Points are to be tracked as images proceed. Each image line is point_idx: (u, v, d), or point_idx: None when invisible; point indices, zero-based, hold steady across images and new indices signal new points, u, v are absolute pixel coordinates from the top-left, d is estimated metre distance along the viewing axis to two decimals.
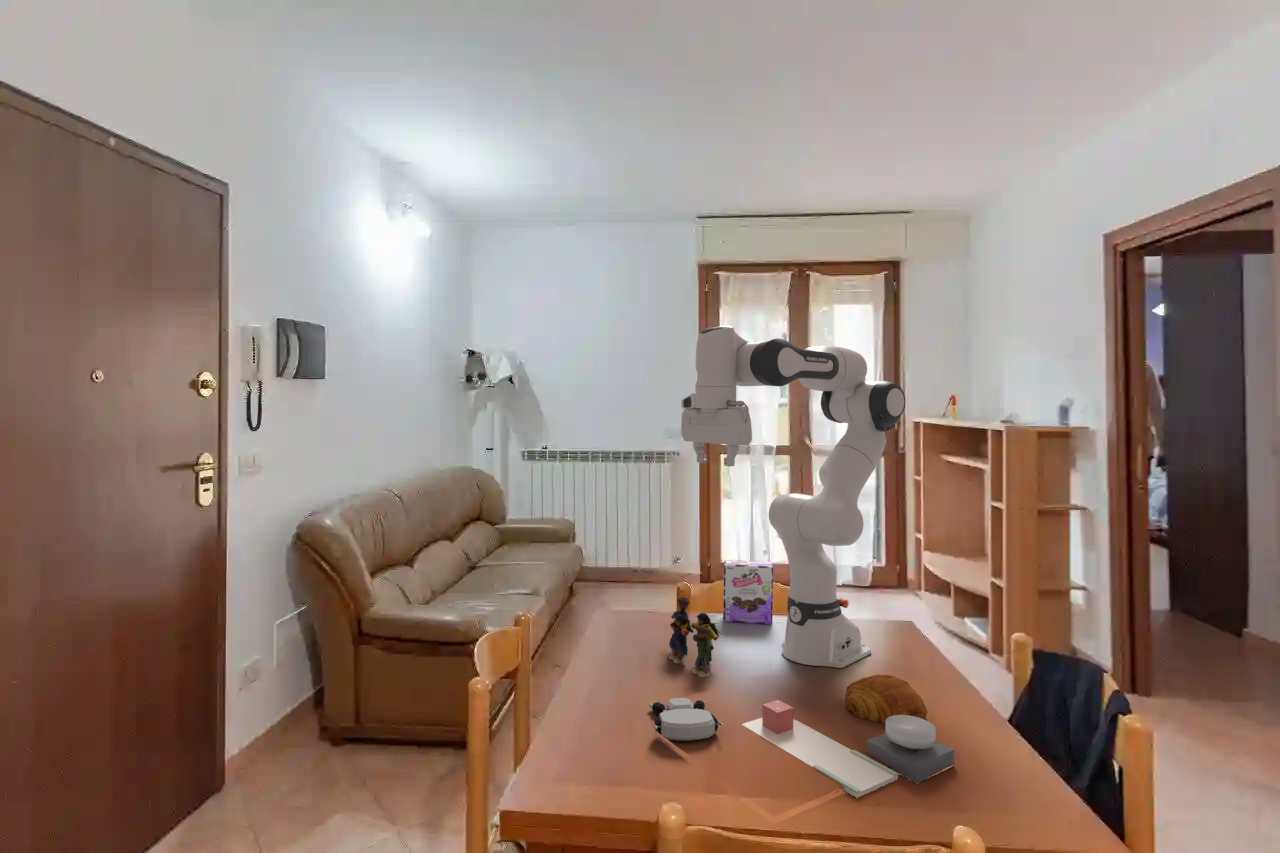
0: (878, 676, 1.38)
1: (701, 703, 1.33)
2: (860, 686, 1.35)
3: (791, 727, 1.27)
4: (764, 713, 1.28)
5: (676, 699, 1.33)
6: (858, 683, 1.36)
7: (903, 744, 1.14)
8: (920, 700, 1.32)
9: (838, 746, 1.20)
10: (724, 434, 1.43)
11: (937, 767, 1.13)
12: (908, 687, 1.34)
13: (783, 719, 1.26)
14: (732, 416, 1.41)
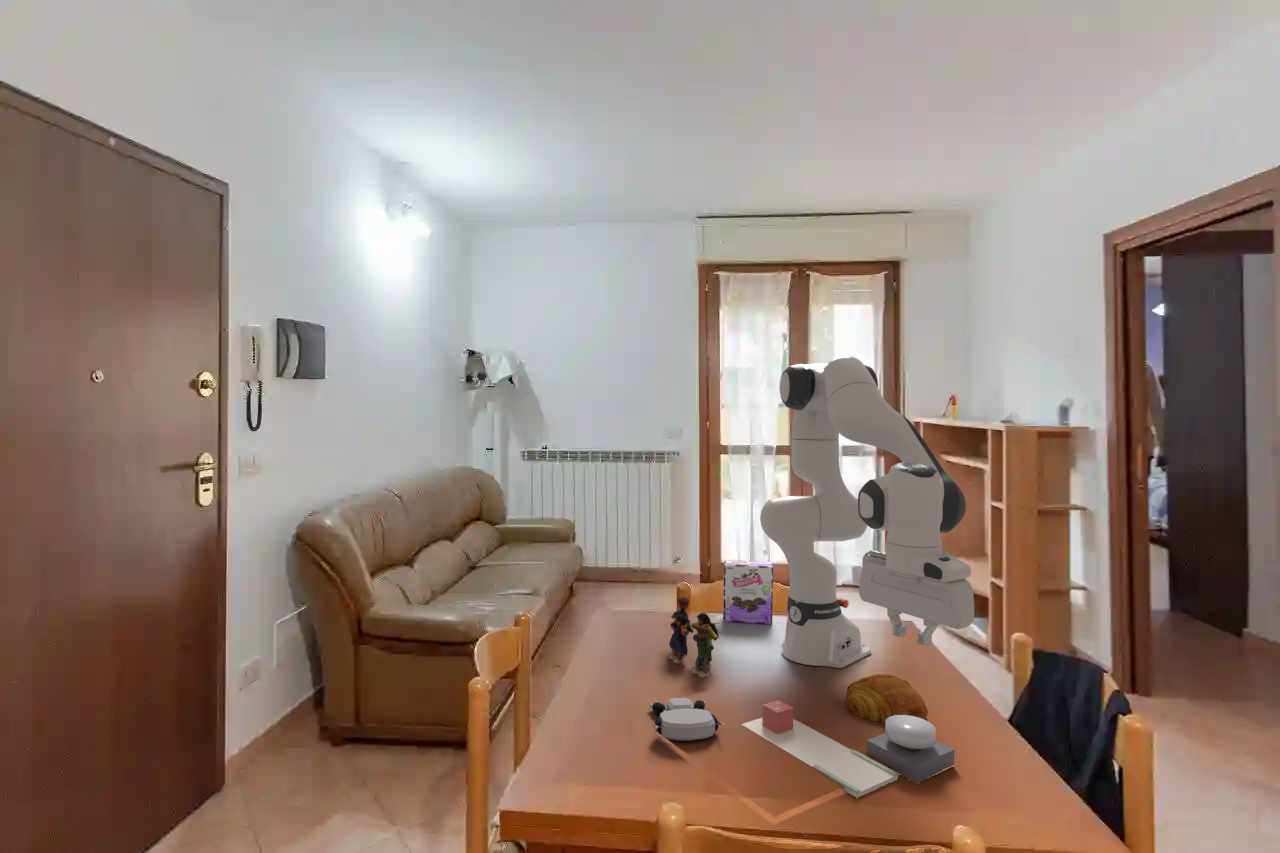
0: (879, 676, 1.38)
1: (701, 703, 1.33)
2: (861, 685, 1.35)
3: (791, 727, 1.27)
4: (764, 713, 1.28)
5: (676, 699, 1.33)
6: (859, 683, 1.36)
7: (903, 744, 1.14)
8: (921, 700, 1.32)
9: (838, 746, 1.20)
10: None
11: (937, 767, 1.13)
12: (909, 687, 1.35)
13: (783, 719, 1.26)
14: None
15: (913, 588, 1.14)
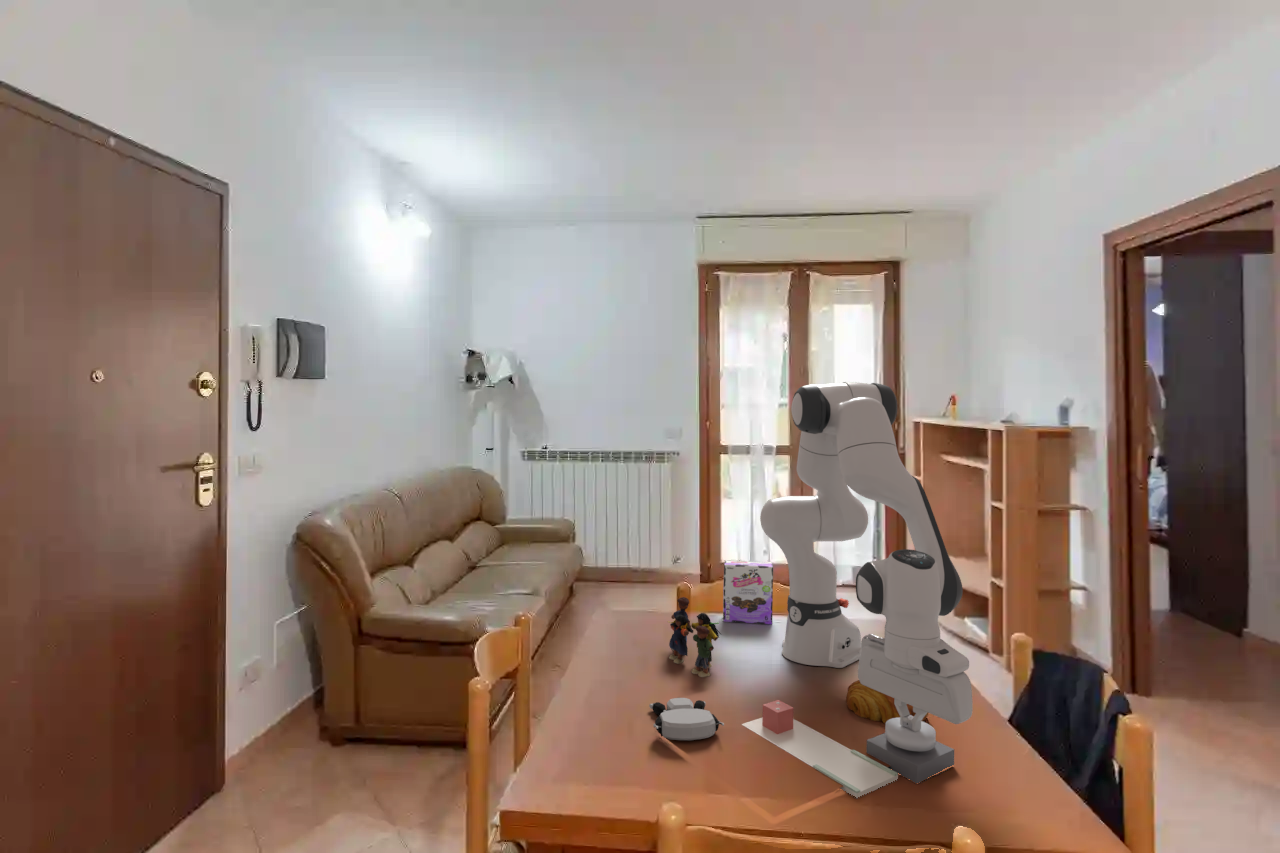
0: None
1: (701, 703, 1.33)
2: (861, 685, 1.35)
3: (791, 727, 1.27)
4: (764, 713, 1.28)
5: (676, 699, 1.33)
6: (859, 682, 1.36)
7: (903, 747, 1.14)
8: None
9: (838, 746, 1.20)
10: None
11: (937, 767, 1.13)
12: None
13: (783, 719, 1.26)
14: None
15: (912, 677, 1.15)
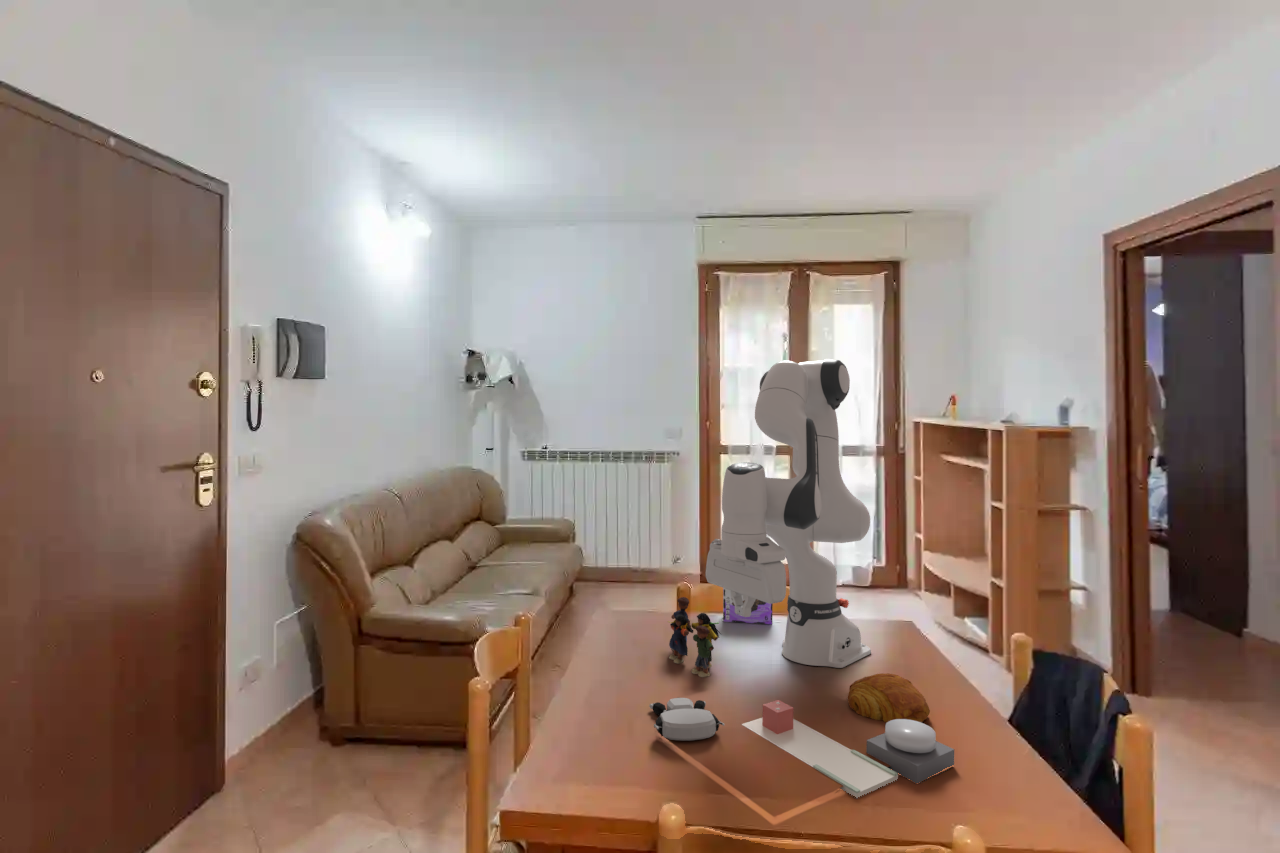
0: (881, 675, 1.38)
1: (701, 703, 1.33)
2: (863, 684, 1.36)
3: (791, 727, 1.27)
4: (764, 713, 1.28)
5: (676, 699, 1.33)
6: (861, 682, 1.37)
7: (903, 748, 1.14)
8: (922, 699, 1.32)
9: (838, 746, 1.20)
10: None
11: (937, 767, 1.13)
12: (911, 686, 1.35)
13: (783, 719, 1.26)
14: None
15: (741, 569, 1.33)
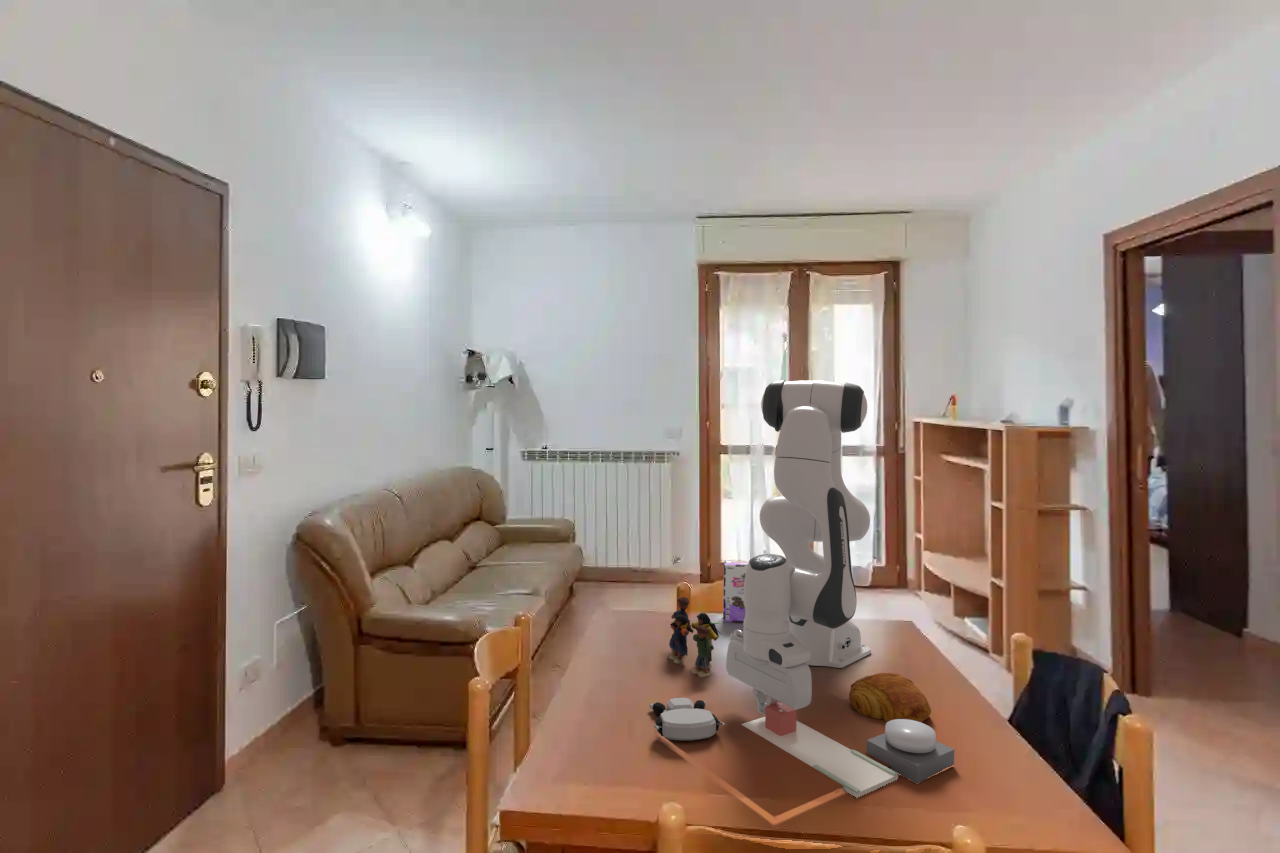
0: (882, 674, 1.39)
1: (701, 703, 1.33)
2: (864, 683, 1.36)
3: (794, 729, 1.26)
4: (767, 715, 1.27)
5: (676, 699, 1.33)
6: (862, 681, 1.37)
7: (903, 748, 1.14)
8: (924, 699, 1.33)
9: (838, 746, 1.20)
10: None
11: (937, 767, 1.13)
12: (912, 685, 1.35)
13: (786, 721, 1.25)
14: None
15: (764, 668, 1.28)
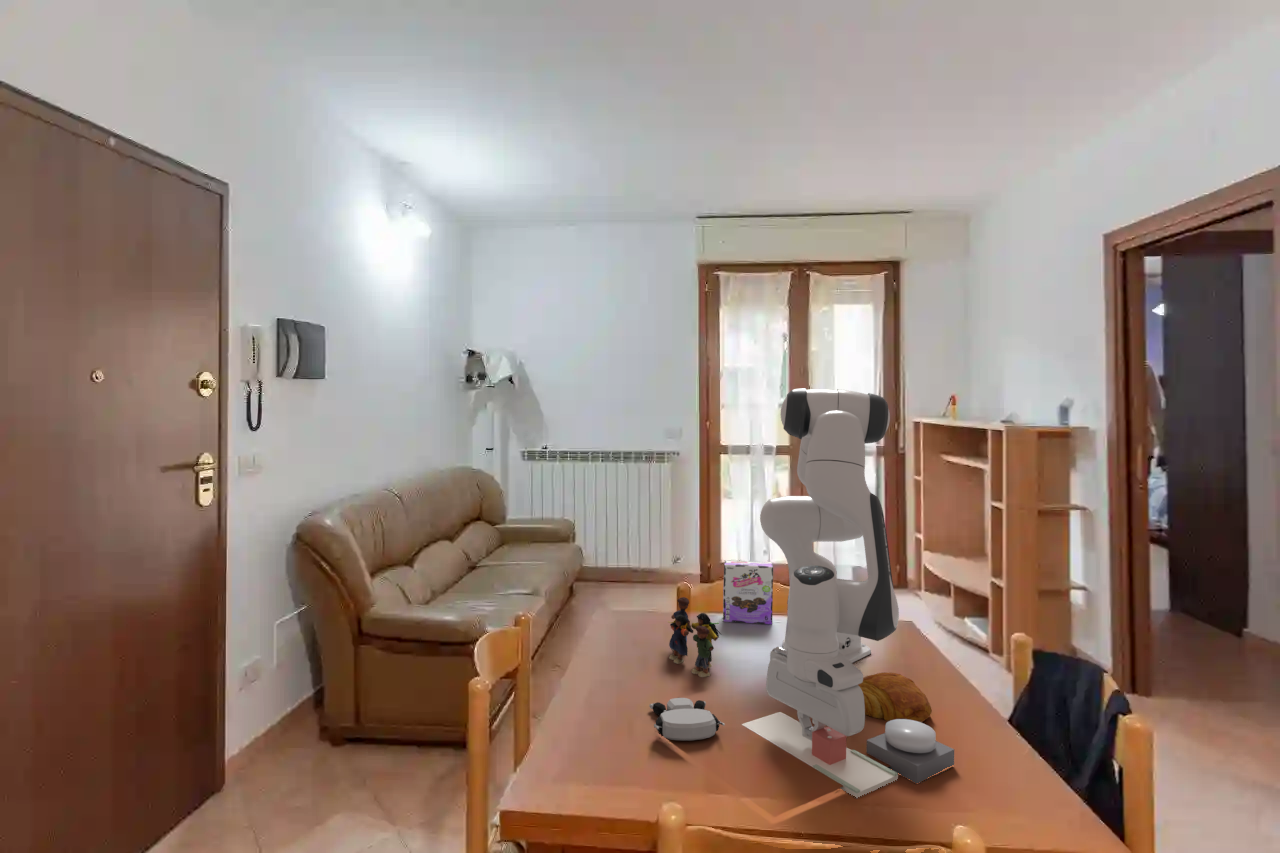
0: (883, 674, 1.39)
1: (701, 703, 1.33)
2: (864, 683, 1.36)
3: (844, 757, 1.16)
4: (814, 741, 1.17)
5: (676, 699, 1.33)
6: (863, 680, 1.37)
7: (903, 748, 1.14)
8: (924, 698, 1.33)
9: None
10: None
11: (937, 767, 1.13)
12: (913, 685, 1.35)
13: (836, 749, 1.15)
14: None
15: (811, 690, 1.18)
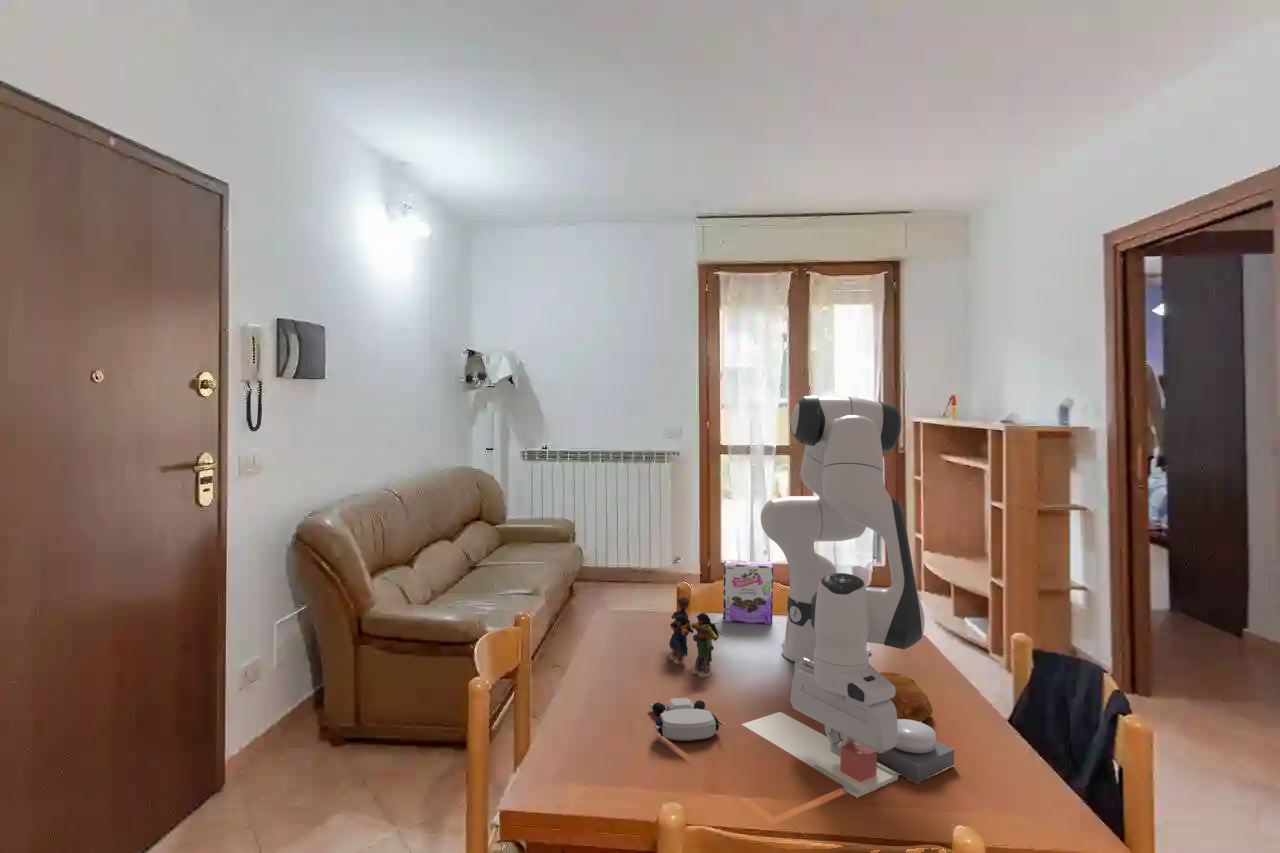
0: (884, 673, 1.39)
1: (701, 703, 1.33)
2: None
3: (874, 773, 1.11)
4: (843, 757, 1.12)
5: (676, 699, 1.33)
6: None
7: (903, 748, 1.14)
8: (925, 698, 1.33)
9: None
10: None
11: (937, 767, 1.13)
12: (914, 685, 1.35)
13: (866, 765, 1.10)
14: None
15: (840, 704, 1.13)
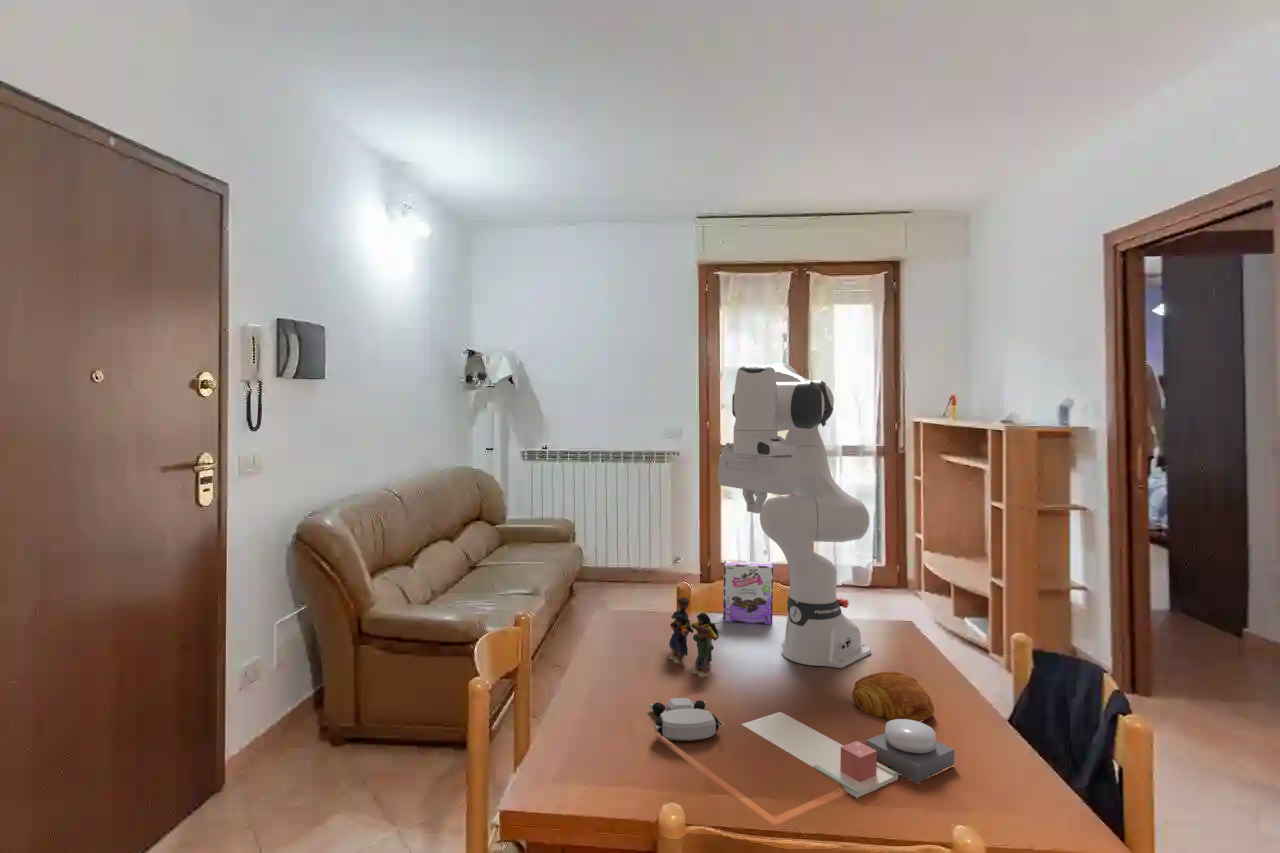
0: (886, 673, 1.40)
1: (701, 703, 1.33)
2: (867, 681, 1.37)
3: (874, 773, 1.11)
4: (843, 757, 1.12)
5: (676, 699, 1.33)
6: (865, 679, 1.38)
7: (903, 748, 1.14)
8: (927, 697, 1.33)
9: (838, 746, 1.20)
10: None
11: (937, 767, 1.13)
12: (915, 684, 1.36)
13: (866, 765, 1.10)
14: None
15: (753, 467, 1.37)
